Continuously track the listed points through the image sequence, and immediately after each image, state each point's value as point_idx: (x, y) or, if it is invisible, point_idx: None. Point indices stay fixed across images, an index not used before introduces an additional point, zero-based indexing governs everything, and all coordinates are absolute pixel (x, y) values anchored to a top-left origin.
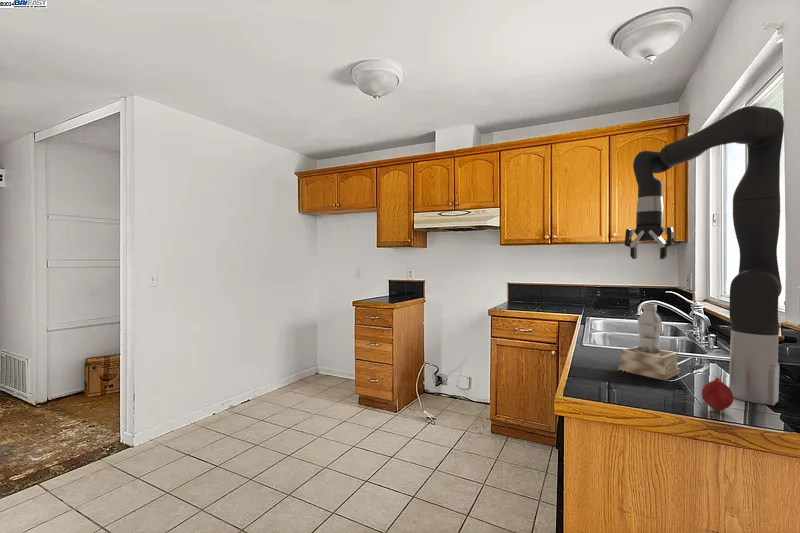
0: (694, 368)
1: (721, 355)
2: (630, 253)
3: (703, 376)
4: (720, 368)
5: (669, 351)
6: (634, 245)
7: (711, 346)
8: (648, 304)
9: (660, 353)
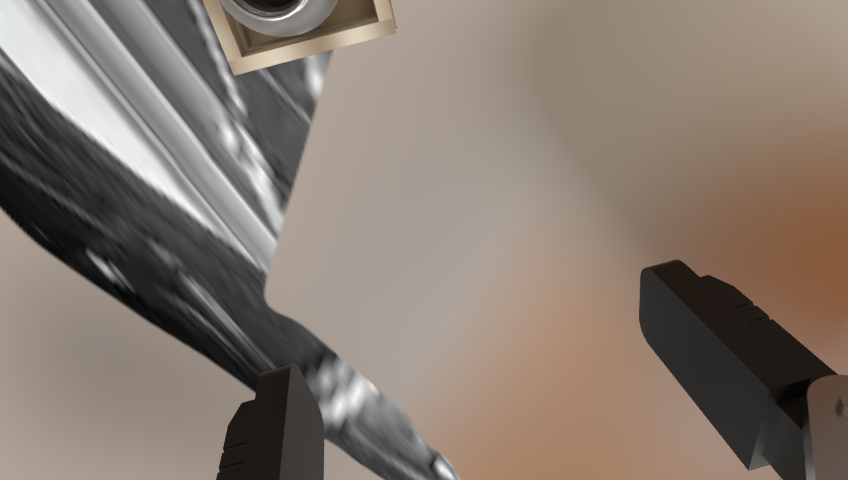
0: (283, 187)
1: (374, 405)
2: (759, 309)
3: (190, 108)
4: (261, 265)
5: (261, 61)
6: (816, 437)
7: (452, 468)
8: (298, 5)
9: (291, 42)
